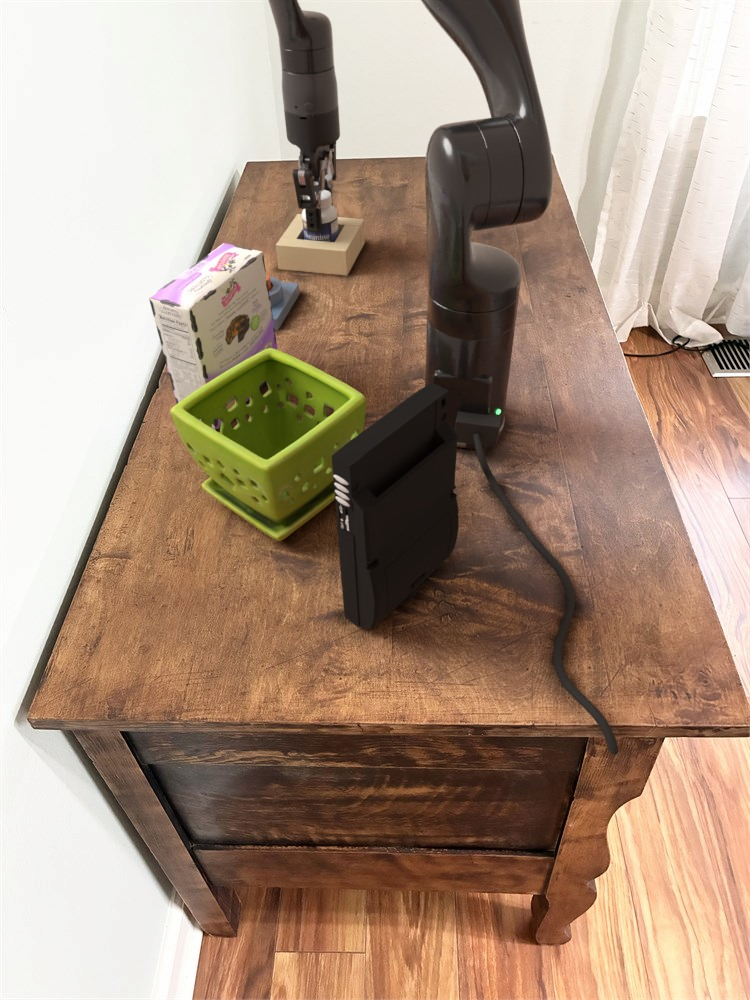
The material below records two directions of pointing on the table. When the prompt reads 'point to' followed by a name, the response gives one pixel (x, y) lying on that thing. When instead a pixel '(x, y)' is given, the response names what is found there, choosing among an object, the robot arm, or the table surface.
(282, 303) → the switch block
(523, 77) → the robot arm
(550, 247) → the table surface
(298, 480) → the flower pot
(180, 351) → the candy box
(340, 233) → the dock
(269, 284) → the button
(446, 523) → the black electronic device
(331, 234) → the pill bottle
